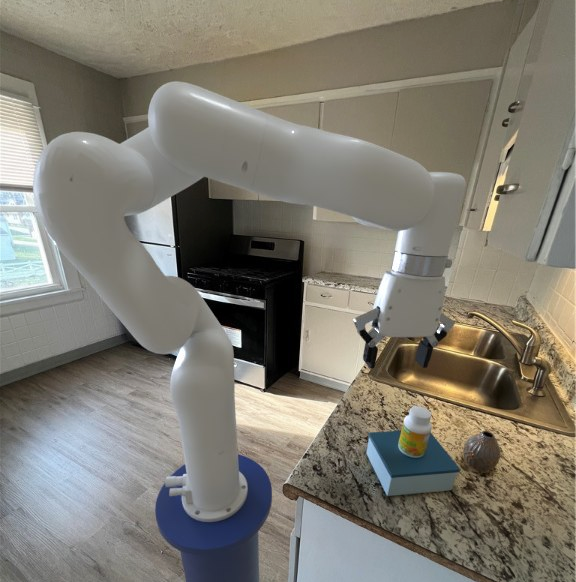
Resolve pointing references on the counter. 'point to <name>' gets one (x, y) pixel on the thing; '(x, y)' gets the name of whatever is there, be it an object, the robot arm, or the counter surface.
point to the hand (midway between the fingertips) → (395, 364)
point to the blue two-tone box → (410, 466)
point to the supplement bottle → (415, 432)
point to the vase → (482, 451)
